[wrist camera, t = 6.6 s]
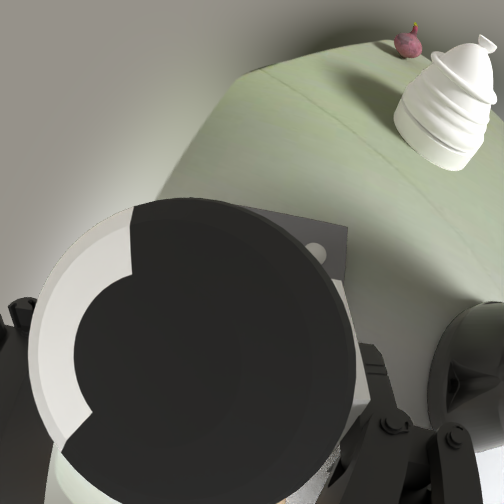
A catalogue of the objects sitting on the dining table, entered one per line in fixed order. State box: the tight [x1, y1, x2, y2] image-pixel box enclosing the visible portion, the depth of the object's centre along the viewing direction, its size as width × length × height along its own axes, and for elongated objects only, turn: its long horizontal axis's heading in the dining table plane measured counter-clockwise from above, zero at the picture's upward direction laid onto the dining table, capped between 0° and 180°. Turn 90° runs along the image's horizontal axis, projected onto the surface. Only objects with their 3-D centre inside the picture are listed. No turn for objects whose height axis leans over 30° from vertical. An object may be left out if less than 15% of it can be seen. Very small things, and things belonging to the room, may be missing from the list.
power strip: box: [190, 197, 348, 288], centre depth 22 cm, size 13×6×3 cm, turn 78°
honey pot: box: [394, 35, 497, 171], centre depth 23 cm, size 13×13×18 cm
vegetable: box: [394, 23, 422, 58], centre depth 38 cm, size 6×6×10 cm
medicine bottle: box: [28, 198, 356, 504], centre depth 9 cm, size 7×7×12 cm
